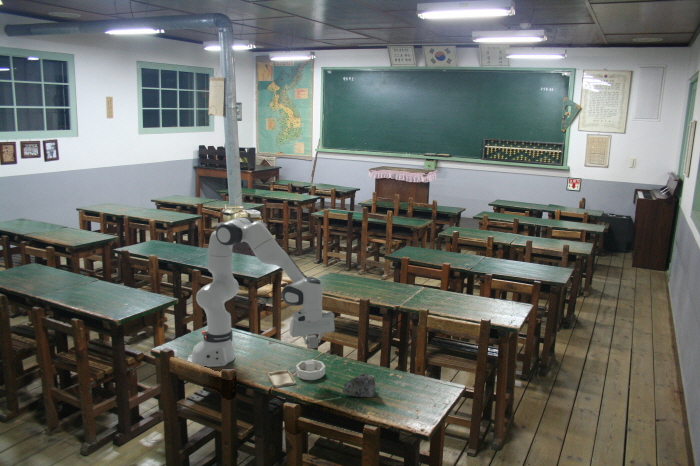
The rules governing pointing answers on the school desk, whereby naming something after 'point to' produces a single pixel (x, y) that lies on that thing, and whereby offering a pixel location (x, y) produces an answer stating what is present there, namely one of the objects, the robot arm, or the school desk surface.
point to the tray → (281, 378)
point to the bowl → (311, 375)
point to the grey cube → (309, 366)
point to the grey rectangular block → (312, 341)
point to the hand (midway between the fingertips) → (312, 343)
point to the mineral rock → (361, 386)
